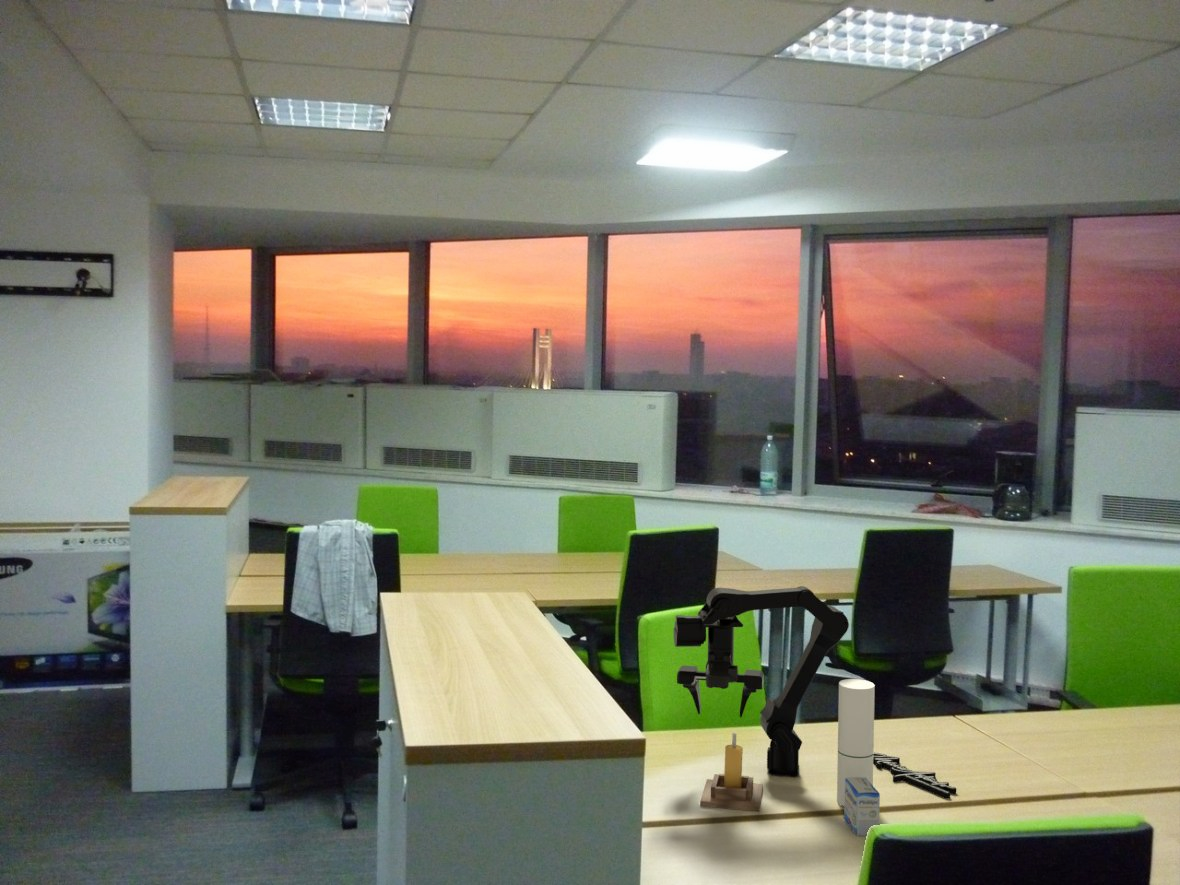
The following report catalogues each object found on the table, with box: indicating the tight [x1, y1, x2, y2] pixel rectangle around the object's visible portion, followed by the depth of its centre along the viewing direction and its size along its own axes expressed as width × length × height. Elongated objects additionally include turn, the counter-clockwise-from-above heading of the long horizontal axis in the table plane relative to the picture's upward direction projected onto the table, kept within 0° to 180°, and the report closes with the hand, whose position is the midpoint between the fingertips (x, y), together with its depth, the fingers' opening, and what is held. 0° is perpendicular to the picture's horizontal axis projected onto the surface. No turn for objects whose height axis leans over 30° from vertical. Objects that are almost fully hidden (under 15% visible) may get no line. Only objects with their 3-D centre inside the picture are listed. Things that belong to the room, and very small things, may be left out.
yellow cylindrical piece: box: [723, 732, 744, 789], centre depth 217 cm, size 4×4×12 cm
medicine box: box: [843, 777, 881, 837], centre depth 203 cm, size 8×4×9 cm, turn 5°
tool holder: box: [699, 773, 764, 812], centre depth 218 cm, size 12×12×3 cm
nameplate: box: [873, 752, 957, 800], centre depth 230 cm, size 27×2×10 cm
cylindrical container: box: [836, 678, 876, 807], centre depth 214 cm, size 7×7×25 cm
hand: (720, 715), depth 231 cm, fingers open, 9 cm apart
